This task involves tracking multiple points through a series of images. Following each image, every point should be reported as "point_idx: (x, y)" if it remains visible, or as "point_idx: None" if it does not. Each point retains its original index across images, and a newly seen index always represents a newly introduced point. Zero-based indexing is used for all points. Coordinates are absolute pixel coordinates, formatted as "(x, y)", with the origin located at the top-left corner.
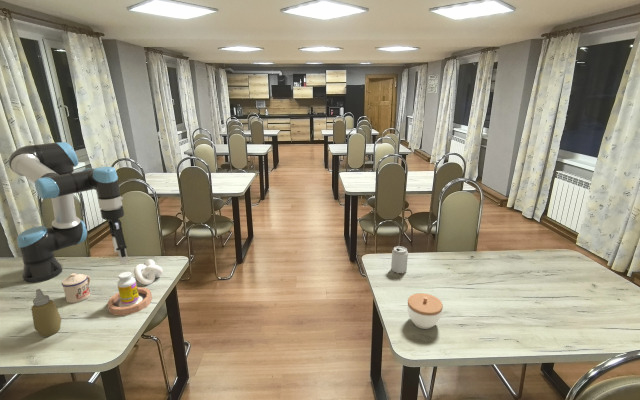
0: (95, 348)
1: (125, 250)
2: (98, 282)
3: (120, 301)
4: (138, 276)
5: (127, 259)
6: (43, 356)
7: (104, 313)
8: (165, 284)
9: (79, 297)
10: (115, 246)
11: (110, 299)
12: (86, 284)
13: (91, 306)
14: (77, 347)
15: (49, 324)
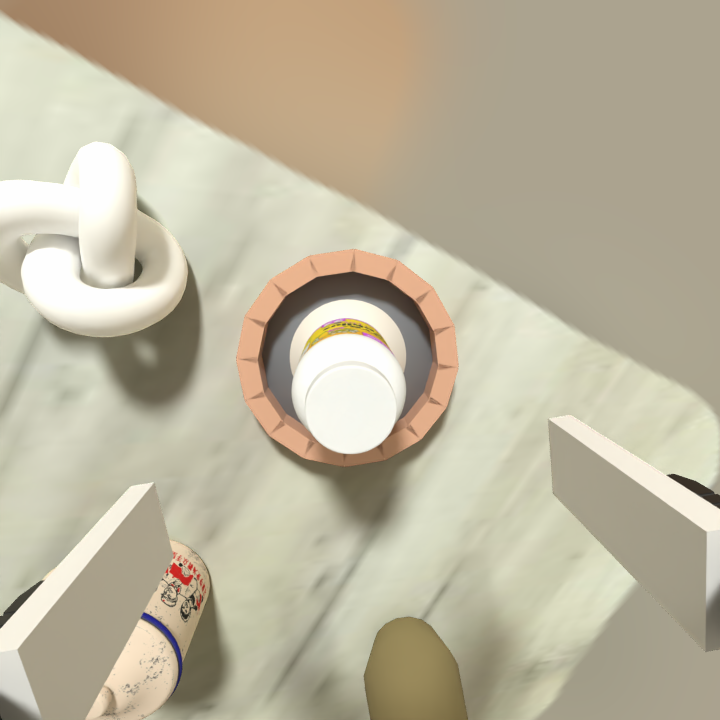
0: None
1: (701, 509)
2: (24, 510)
3: None
4: (156, 309)
5: (596, 437)
6: (557, 637)
7: (375, 468)
8: (222, 159)
9: (201, 587)
10: (138, 593)
11: (314, 454)
12: None
13: (278, 523)
14: (573, 544)
15: (459, 680)
